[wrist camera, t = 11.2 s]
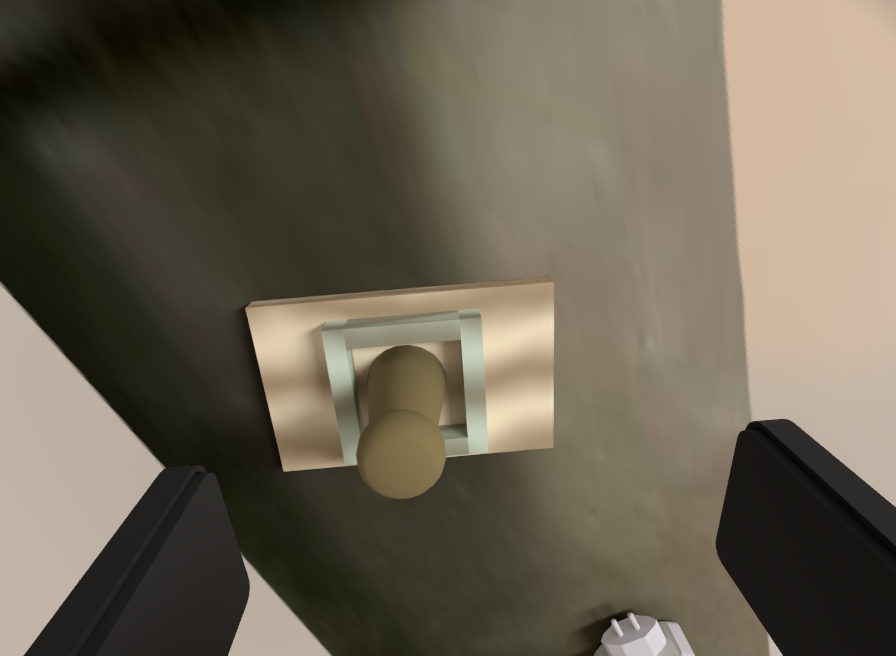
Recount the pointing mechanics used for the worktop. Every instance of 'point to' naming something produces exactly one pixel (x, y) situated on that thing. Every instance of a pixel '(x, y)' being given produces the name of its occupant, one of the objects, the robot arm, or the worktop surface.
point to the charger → (643, 638)
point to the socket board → (419, 324)
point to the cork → (403, 423)
